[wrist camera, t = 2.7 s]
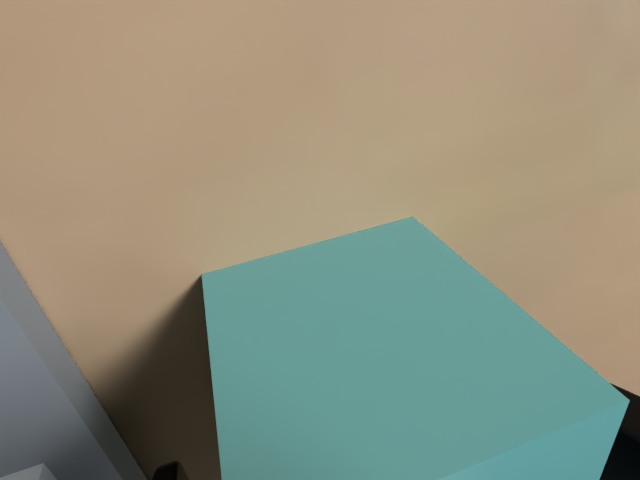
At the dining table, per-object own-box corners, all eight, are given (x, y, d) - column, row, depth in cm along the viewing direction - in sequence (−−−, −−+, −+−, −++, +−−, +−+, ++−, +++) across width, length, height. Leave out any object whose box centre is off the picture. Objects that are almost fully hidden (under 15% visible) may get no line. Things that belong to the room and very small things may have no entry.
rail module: (412, 216, 9) (630, 400, 5) (416, 426, 12) (538, 635, 8) (201, 274, 8) (230, 565, 4) (272, 481, 12) (326, 746, 7)
